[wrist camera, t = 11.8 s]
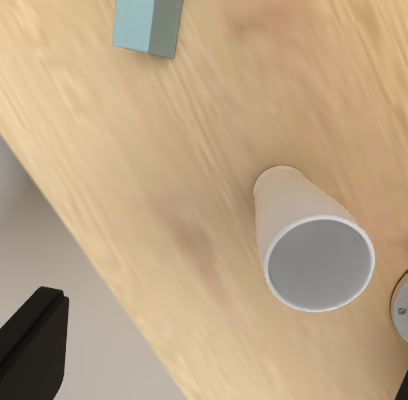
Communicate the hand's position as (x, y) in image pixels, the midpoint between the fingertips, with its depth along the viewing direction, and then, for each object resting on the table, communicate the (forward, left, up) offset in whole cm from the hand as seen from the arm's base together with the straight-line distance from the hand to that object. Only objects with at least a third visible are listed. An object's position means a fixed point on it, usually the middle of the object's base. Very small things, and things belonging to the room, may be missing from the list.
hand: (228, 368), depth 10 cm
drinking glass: (-6, -3, -27) cm, 28 cm away
